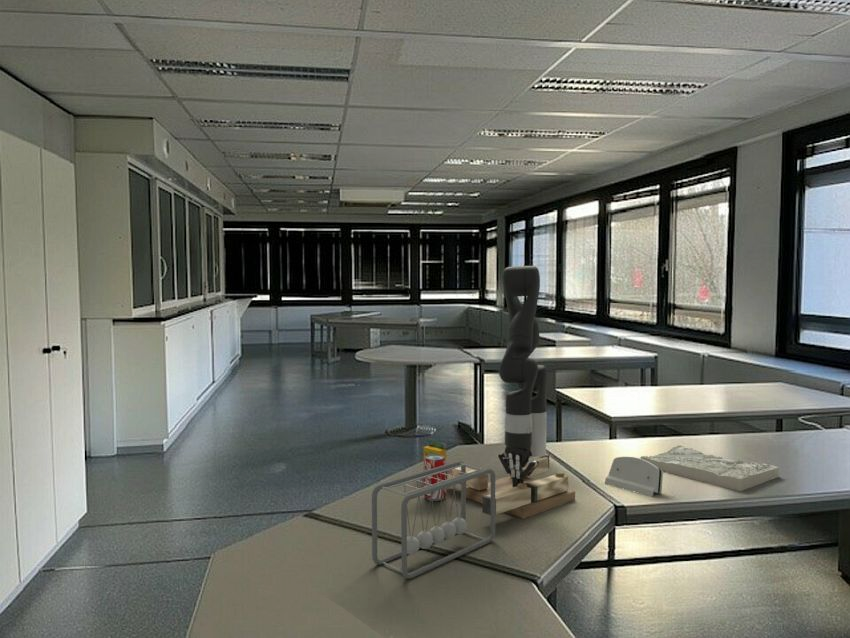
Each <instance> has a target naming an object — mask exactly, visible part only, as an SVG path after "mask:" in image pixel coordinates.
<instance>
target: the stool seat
mask: <svg viewBox="0 0 850 638" xmlns="http://www.w3.org/2000/svg"><path fill="white" fill-rule="evenodd" d="M533 459H534V460H535V461H536V460H537V461H538V462H539V464H538V466H537V467H536V468H535V469H534V471H533V472H532V473H531V475H530V476H527V477H525V478H524V483H529V482H533V481H536V480H537V479H535V478H532V477H531V476H535V475H538V474H541V473H545V472H549V469H550V455H548V454H546V455H545V456H536V457H533ZM528 462H529V461H528ZM465 467H466V473H470V472H473V471H476V470H477V469H474V468H471V467H467V466H465ZM527 467H528V463H527ZM454 470H456V471H454ZM458 471H459V472H458ZM475 473H476V472H475ZM446 474H447V475H446V480H448V479H451V478H452V475H453V476H454V477H457V476H460V475H461V467H458V468H455V469H452V472H451V470H448V471H446ZM472 474H473V473H472ZM449 475H450V476H449ZM469 475H470V474H469ZM454 477H453V478H454ZM488 480H489V474H486V475H483V476H480V477H477V478H474V479H471V480H468V481H466V499H469V500H471V501H475V502H477V503H480V504H482V507H481V508H482V513H483V514H486V515H489V516H491V480H490V481H488ZM512 483H513V482H512V476H511V474H509V475H507V476H505V477H500V478H496V479H495V517H496V516H497V515H499V514H501V513H502V514H503V513H506V514H510V515H512V516H516V517H518V518H520V519H526V518H529V517H531V516H535V515H538V514H541V513H543V512H546V511H548V510H552V509H554V508H556V507H560V506H562V505H565V504H568V503H570V502H574V501H576V491H574V490H572V489H569V488H568V491H565V492H562V493H559V494H556V495H553V496H550V497H547V498H544V499H541V500H538V501H537V502H533V501H531V488H529V487H527V484H524V483H520V484H518V486H516V487H513V486H512ZM459 485H461V483H459Z"/></svg>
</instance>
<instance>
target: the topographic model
mask: <svg viewBox="0 0 850 638" xmlns="http://www.w3.org/2000/svg"><path fill="white" fill-rule="evenodd" d="M640 459H643V460H646V461H649V462H651V463H653V464H655V465H656V466H658V467H659V468H661V469H662V471H663V472H665V471H666V472H665V473H668V474H674V475H676V474H677V476H680V475H681V476H680V477H685V478H689V479H692V480H695V479H696V480H695V481H699V480H700V481H699V482H703V481H704V482H703V483H707V482H708V483H707V484H711V483H712V484H711V485H715V486H718V485H719V487H723V488H725V489H731V490H734V491H738V492H742V491H745V490H749V489H750V488H753V487H755V486H759V485H762V484H764V483H766V482H770V481H772V480H774V479H777V478H779V468H780V467H778V466H777V465H776V466H775V465H772V464H770V462H769V461H768V460H767V463H761V462H758V461H757V462H755V461H753V462H744V460H740V459H739V460H733V459H728V458H723V456H717V455H713V454H704V453H703V452H701V451H699V450H697V449H693V448H692V447H691V448H690V447H686V446H684V445H683V446H682V445H679V444H678V445H677V446H674V447H672V448H671V449H669V450H668V451H665V452H662V453H658V454H657V455H656V454H655V455H649V456H647V455H642V456H640Z"/></svg>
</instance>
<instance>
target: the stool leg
mask: <svg viewBox="0 0 850 638" xmlns="http://www.w3.org/2000/svg"><path fill="white" fill-rule="evenodd" d="M535 480H536V481H533V482H529V483H524V484H527V487H529V488H531V501H533V502H537V501H538V500H541V499H544V498H547V497H550V496H553V495H556V494H559V493H562V492H565V491H568V489H569V476H568V475H565V472H562V471H556V472H555V474H553V475H549V476H547V477H542V478H539V479H535Z"/></svg>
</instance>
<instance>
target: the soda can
mask: <svg viewBox="0 0 850 638" xmlns="http://www.w3.org/2000/svg"><path fill="white" fill-rule="evenodd" d="M446 464H447V460H446V461H445V458H444V456H442V455H428V456H426V459H425V461H424V460H423V471H426V470H429V469H433V468H436V467H440V466H443V465H446ZM442 473H443V474H442ZM442 473H441V476H440V473H439V474H435V475H432V476H430V477H426V478H423V480H424V481H423V483H424V482H425V483H424V485H423V487H426V486H429V485H430V484H435V483H439V482H441V479H442V480H443V481H445V480H446V475H445V474H446V471H445V472H442ZM432 477H433V478H432ZM435 478H436V479H435ZM429 479H430V484H427V483H429ZM438 479H440V480H438ZM438 485H439V484H438ZM435 486H436V485H435ZM429 488H430V487H429ZM442 492H443V493H444V498H443V497H442ZM423 496H424V497H425V498H426V499H427V500H428V501H430V496H431V493H429V494H426V495H423ZM446 497H447V488H444V490H443V491H442V489H441V490H438V491H435V492H432V499H431V501H430V502H432V501H433V502H439V501H441V499H442V500H445V498H446Z"/></svg>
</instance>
